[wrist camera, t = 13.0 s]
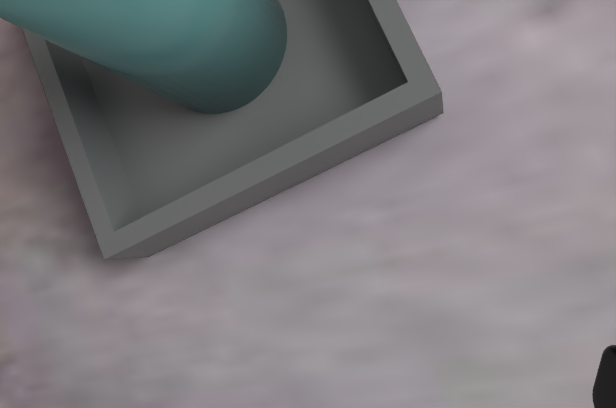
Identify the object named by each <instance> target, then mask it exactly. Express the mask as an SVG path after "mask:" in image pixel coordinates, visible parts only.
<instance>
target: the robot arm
mask: <svg viewBox="0 0 616 408" xmlns="http://www.w3.org/2000/svg"><path fill="white" fill-rule="evenodd" d="M593 403H594V407H595V408H616V345H611V346H608V347H607V348H606V349H605V350H604V352H603V354H602V358H601V361H600V365H599V369H598V372H597V376H596V380H595V383H594V387H593Z"/></svg>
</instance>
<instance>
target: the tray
mask: <svg viewBox="0 0 616 408" xmlns="http://www.w3.org/2000/svg"><path fill="white" fill-rule="evenodd" d="M279 2H280V4H281V6H282V9H283V11H284V15H285V19H286V25H287V43H286V50H285V54H284V57H283V61H282V63H281V66H280V68H279V70H278V72H277V74H276V75H275V77H274V79H273V80H272V82H271V83H270V84H269V86H268V87H267V88H266V89H265V90H264V91H263V92H262V93H261V94H260V95H259V96H258V97H257V98H255V99H254V100H253V101H251V102H250V103H248V104H247V105H245V106H243V107H240V108H238V109H236V110H233V111H230V112H225V113H220V114H206V113H200V112H195V111H193V110H190V109H187V108H185V107H183V106H181V105H179V104H177V103H175V102H173V101H171V100H169V99H167V98H165V97H163V96H161V95H158V94H156V93H154V92H152V91H150V90H148V89H146V88H144V87H142V86H140V85H138V84H136V83H134V82H132V81H130V80H128V79H126V78H123V77H121V76H119V75H117V74H115V73H113V72H111V71H109V70H107V69H105V68H103V67H101V66H99V65H97V64H95V63H93V62H91V61H88V60H86V59H84V58H82V57H80V56H78V55H76V54H74V53H72V52H70V51H68V50H66V49H64V48H62V47H60V46H58V45H56V44H53V43H51V42H49V41H47V40H45V39H43V38H41V37H39V36H37V35H35V34H33V33H31V32H29V31H27V30H25V29H23V28H22V30H23V33H24V35H25V38H26V41H27V44H28V47H29V50H30V52H31V55H32V58H33V61H34V64H35V66H36V69H37V72H38V75H39V78H40V81H41V83H42V86H43V89H44V92H45V95H46V97H47V100H48V103H49V106H50V109H51V112H52V114H53V117H54V120H55V123H56V126H57V128H58V131H59V134H60V137H61V140H62V143H63V145H64V148H65V151H66V154H67V157H68V159H69V162H70V165H71V168H72V171H73V174H74V176H75V179H76V182H77V185H78V188H79V190H80V193H81V196H82V199H83V202H84V205H85V207H86V210H87V213H88V216H89V219H90V221H91V224H92V227H93V230H94V233H95V236H96V238H97V241H98V244H99V247H100V250H101V252H102V255H103V258H104V260H107V259H122V258H137V257H149V256H151V255H153V254H155V253H157V252H159V251H161V250H163V249H165V248H167V247H169V246H171V245H173V244H176V243H178V242H180V241H182V240H184V239H186V238H188V237H190V236H192V235H194V234H196V233H198V232H200V231H202V230H204V229H206V228H208V227H210V226H212V225H214V224H217V223H219V222H221V221H223V220H225V219H227V218H229V217H231V216H233V215H235V214H237V213H239V212H241V211H243V210H245V209H247V208H249V207H251V206H253V205H256V204H258V203H260V202H262V201H264V200H266V199H268V198H270V197H272V196H274V195H276V194H278V193H280V192H282V191H284V190H286V189H288V188H290V187H292V186H294V185H297V184H299V183H301V182H303V181H305V180H307V179H309V178H311V177H313V176H315V175H317V174H319V173H321V172H323V171H325V170H327V169H329V168H331V167H333V166H336V165H338V164H340V163H342V162H344V161H346V160H348V159H350V158H352V157H354V156H356V155H358V154H360V153H362V152H364V151H366V150H368V149H370V148H372V147H374V146H377V145H379V144H381V143H383V142H385V141H387V140H389V139H391V138H393V137H395V136H397V135H399V134H401V133H403V132H405V131H407V130H409V129H411V128H413V127H415V126H418V125H420V124H422V123H424V122H426V121H428V120H430V119H432V118H434V117H436V116H438V115H440V114H442V113H443V102H442V91H441V89H440V87H439V85H438V83H437V81H436V79H435V77H434V75H433V73H432V71H431V69H430V67H429V65H428V63H427V61H426V59H425V57H424V55H423V53H422V51H421V49H420V47H419V45H418V43H417V41H416V39H415V37H414V35H413V33H412V31H411V29H410V27H409V25H408V23H407V21H406V19H405V17H404V15H403V13H402V11H401V9H400V7H399V5H398V3H397V1H396V0H279Z"/></svg>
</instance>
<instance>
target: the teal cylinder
mask: <svg viewBox="0 0 616 408" xmlns="http://www.w3.org/2000/svg"><path fill="white" fill-rule="evenodd" d="M0 18H2V19H4V20H6V21H8V22H10V23H12V24H14V25H16V26H18V27H21V28H23V29H25V30H27V31H29V32H31V33H33V34H35V35H37V36H39V37H41V38H43V39H45V40H47V41H49V42H51V43H53V44H56V45H58V46H60V47H62V48H64V49H66V50H68V51H70V52H72V53H74V54H76V55H78V56H80V57H82V58H84V59H86V60H88V61H91V62H93V63H95V64H97V65H99V66H101V67H103V68H105V69H107V70H109V71H111V72H113V73H115V74H117V75H119V76H121V77H123V78H126V79H128V80H130V81H132V82H134V83H136V84H138V85H140V86H142V87H144V88H146V89H148V90H150V91H152V92H154V93H156V94H158V95H161V96H163V97H165V98H167V99H169V100H171V101H173V102H175V103H177V104H179V105H181V106H183V107H185V108H187V109H190V110H193V111H195V112H200V113H206V114H220V113H225V112H230V111H233V110H236V109H238V108H240V107H243V106H245V105H247V104H248V103H250V102H251V101H253V100H254V99H255V98H257V97H258V96H259V95H260V94H261V93H262V92H263V91H264V90H265V89H266V88H267V87H268V86H269V84H270V83H271V82H272V80H273V79H274V77H275V75H276V74H277V72H278V70H279V68H280V66H281V63H282V61H283V57H284V54H285V50H286V43H287V25H286V19H285V15H284V11H283V9H282V6H281V4H280V2H279V0H0Z"/></svg>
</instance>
